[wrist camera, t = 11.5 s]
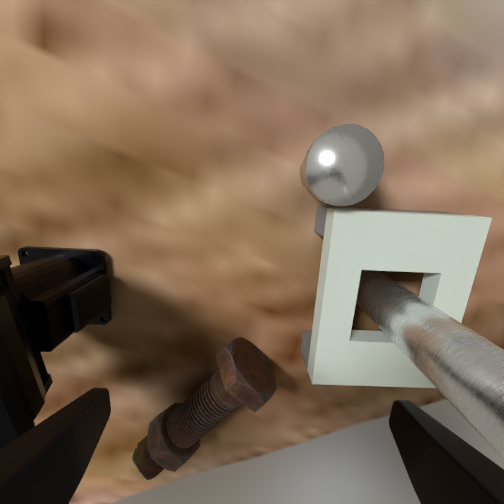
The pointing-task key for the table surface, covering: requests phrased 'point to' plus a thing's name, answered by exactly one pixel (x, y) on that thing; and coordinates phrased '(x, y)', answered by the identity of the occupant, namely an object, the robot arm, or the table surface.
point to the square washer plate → (385, 259)
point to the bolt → (206, 408)
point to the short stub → (343, 165)
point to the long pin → (441, 352)
